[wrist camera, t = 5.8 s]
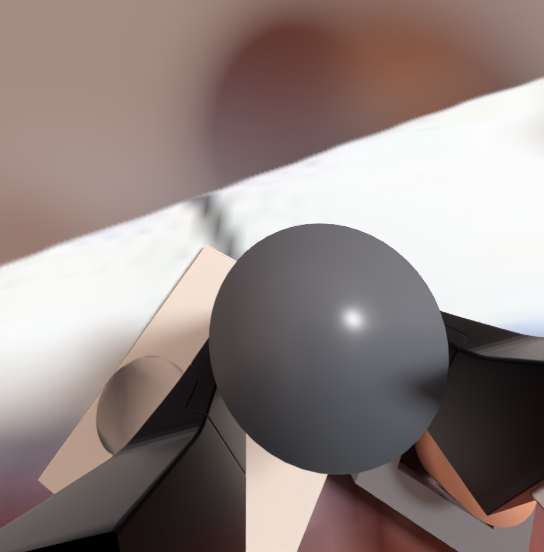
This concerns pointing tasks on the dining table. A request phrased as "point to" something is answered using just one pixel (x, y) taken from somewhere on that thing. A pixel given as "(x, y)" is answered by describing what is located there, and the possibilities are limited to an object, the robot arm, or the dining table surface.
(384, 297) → the grey rounded cylinder
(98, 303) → the dining table surface
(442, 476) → the button
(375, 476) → the button housing
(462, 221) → the dining table surface
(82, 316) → the dining table surface
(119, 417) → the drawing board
